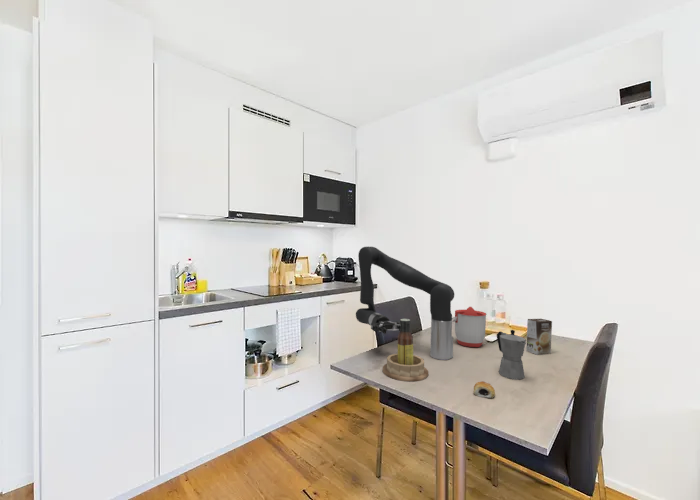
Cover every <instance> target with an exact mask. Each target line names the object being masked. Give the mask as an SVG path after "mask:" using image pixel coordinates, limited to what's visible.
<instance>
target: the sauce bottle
mask: <svg viewBox="0 0 700 500" xmlns="http://www.w3.org/2000/svg"><path fill="white" fill-rule="evenodd" d="M399 322H400V327H401V329H400V331H399V332H398V334H397V343H396V344H397V354H398V364H402V365H413V355H414V337H413V335H412V332H411V319H409V318H401V319H400V320H399Z"/></svg>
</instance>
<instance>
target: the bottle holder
mask: <svg viewBox="0 0 700 500" xmlns="http://www.w3.org/2000/svg"><path fill="white" fill-rule="evenodd" d="M382 373H383V374H384V375H385V376H386V377H388V378H390V379H394V380H397V381H401V382H420V381H423V380H426V379H427V378H428V377H429V369H428V368H427V367H425V360H424V358H422V357H420V356H418V355H417V354H413V365H402V364H398V353H392V354H389V355H388V356H387V358H386V363H385V364H384V365H383V366H382Z"/></svg>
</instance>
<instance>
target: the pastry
mask: <svg viewBox="0 0 700 500" xmlns="http://www.w3.org/2000/svg"><path fill="white" fill-rule="evenodd" d="M473 394H474V396H477V397H479V398H486V399H493V398H494V397H495V396H496V391H495V388H494V387H493V385H491V383H489V382H485V381H478V382H475V384H474V386H473Z"/></svg>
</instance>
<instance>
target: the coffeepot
mask: <svg viewBox="0 0 700 500" xmlns="http://www.w3.org/2000/svg"><path fill="white" fill-rule="evenodd" d="M509 331H510V334H509V333H508V334H507V333H506V332H503V331H498V332H497V333H496V340H497V345H498V349H499V351H500V352H501V353H502V356H501V359H500V363H499V368H498V373H499V375H501V377H503V378H506V379H509V380H515V381H517V380H519V381H520V380H523V379H525V378H526V375H525V371H524V365H523V364H524V362H523V360H522V357H523V356H524V351H525V349H526V345H527V338H526V339H525V338H524V337H523V336H520V335H517V334H515V333H516V330H514V329H510V330H509Z"/></svg>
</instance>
